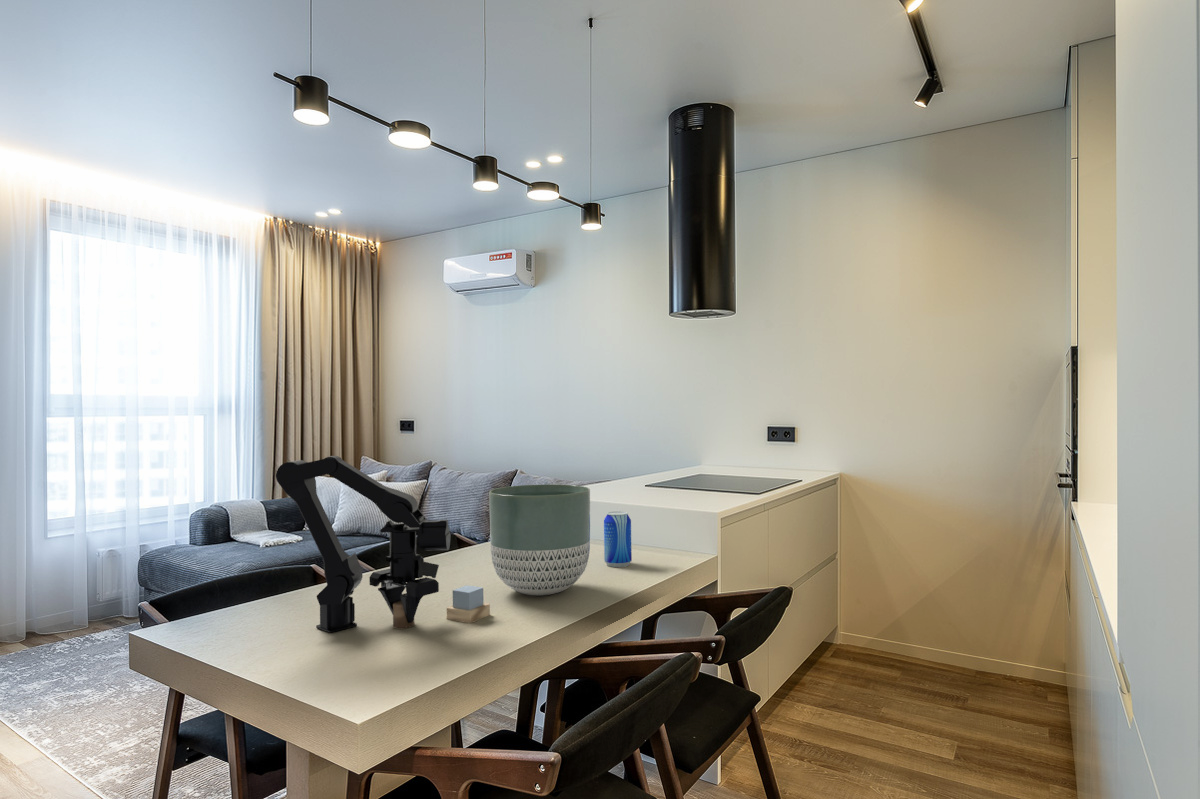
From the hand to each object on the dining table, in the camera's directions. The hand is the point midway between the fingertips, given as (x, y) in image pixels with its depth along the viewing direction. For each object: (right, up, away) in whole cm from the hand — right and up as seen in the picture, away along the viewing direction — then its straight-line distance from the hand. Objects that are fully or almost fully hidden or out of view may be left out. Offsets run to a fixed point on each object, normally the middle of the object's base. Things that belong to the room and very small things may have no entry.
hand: (403, 620), depth 154 cm
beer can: (+50, -2, +57) cm, 76 cm away
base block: (+14, -1, +6) cm, 15 cm away
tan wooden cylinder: (0, -1, 0) cm, 1 cm away
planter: (+29, -1, +27) cm, 39 cm away
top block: (+13, +2, +5) cm, 15 cm away
